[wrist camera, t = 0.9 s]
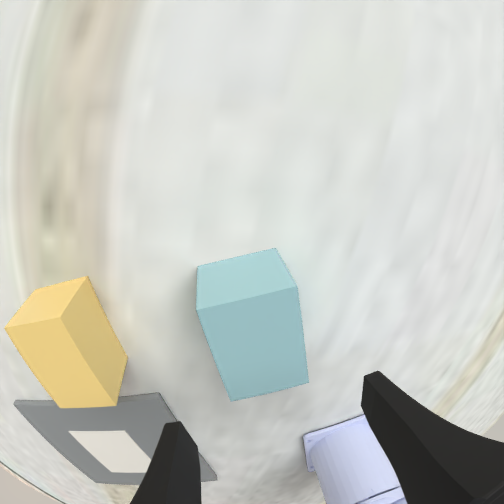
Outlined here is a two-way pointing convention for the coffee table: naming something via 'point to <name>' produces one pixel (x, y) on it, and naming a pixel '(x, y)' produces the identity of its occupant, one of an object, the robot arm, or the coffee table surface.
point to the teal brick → (252, 323)
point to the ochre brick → (70, 345)
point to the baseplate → (106, 436)
